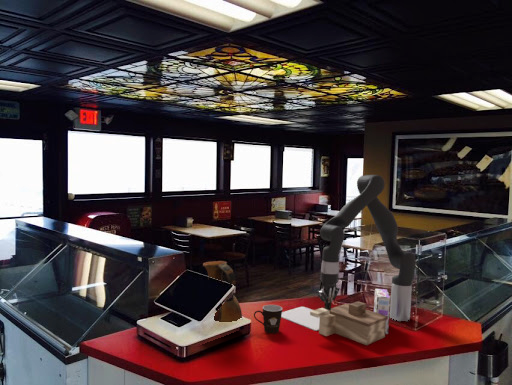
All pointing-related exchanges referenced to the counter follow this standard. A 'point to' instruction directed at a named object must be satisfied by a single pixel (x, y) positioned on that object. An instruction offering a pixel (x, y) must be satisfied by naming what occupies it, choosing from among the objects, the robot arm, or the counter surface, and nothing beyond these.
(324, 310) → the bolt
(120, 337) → the counter surface
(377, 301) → the candy box
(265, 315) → the coffee mug
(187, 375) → the counter surface
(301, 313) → the mat
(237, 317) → the ceramic pitcher
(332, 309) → the lid
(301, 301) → the counter surface
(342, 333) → the wooden box
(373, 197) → the robot arm
